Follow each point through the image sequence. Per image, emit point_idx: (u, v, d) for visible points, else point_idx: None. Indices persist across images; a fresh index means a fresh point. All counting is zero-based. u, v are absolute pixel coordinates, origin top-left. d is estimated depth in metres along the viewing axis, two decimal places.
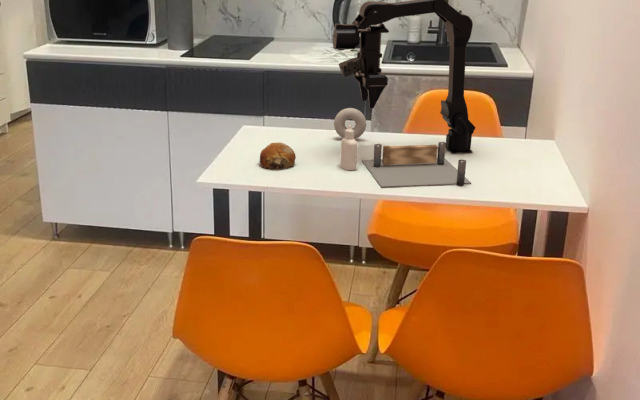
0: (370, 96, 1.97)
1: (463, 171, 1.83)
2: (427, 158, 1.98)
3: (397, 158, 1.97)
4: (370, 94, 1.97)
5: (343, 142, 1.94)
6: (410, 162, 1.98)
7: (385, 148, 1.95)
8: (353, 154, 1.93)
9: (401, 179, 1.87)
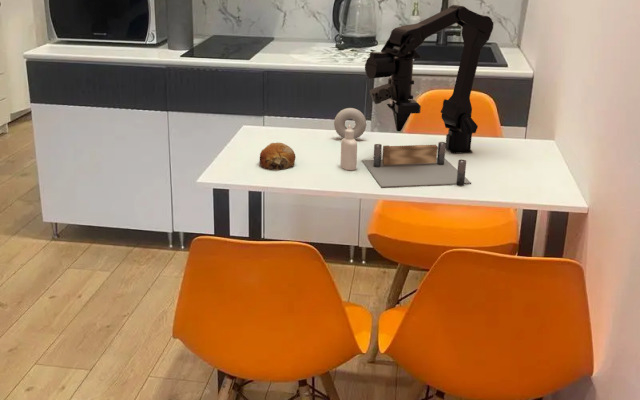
0: (398, 119, 1.98)
1: (463, 171, 1.83)
2: (427, 158, 1.98)
3: (397, 158, 1.97)
4: (398, 117, 1.98)
5: (343, 142, 1.94)
6: (410, 162, 1.98)
7: (385, 148, 1.95)
8: (353, 154, 1.93)
9: (401, 179, 1.87)
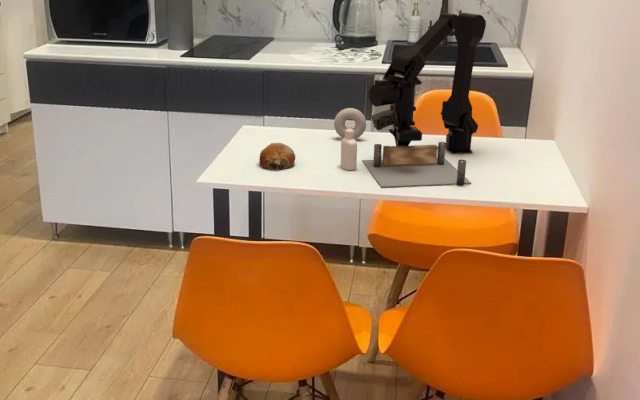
0: (399, 145, 1.98)
1: (463, 171, 1.83)
2: (427, 158, 1.98)
3: (397, 158, 1.96)
4: (399, 143, 1.97)
5: (343, 142, 1.94)
6: (410, 162, 1.98)
7: (386, 148, 1.94)
8: (353, 154, 1.93)
9: (401, 179, 1.87)
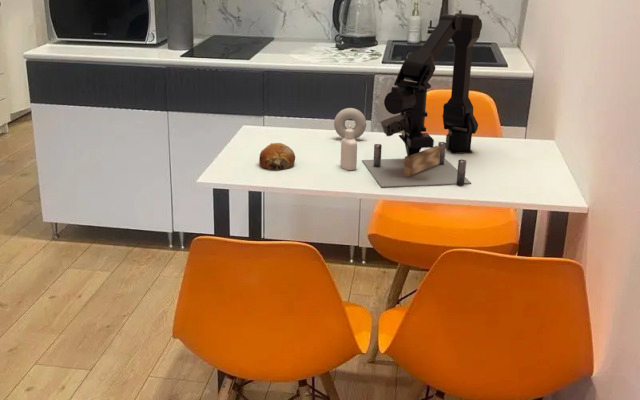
0: (409, 151, 1.92)
1: (463, 171, 1.83)
2: (434, 161, 1.96)
3: (416, 166, 1.90)
4: (410, 149, 1.92)
5: (343, 142, 1.94)
6: (424, 168, 1.93)
7: (410, 159, 1.86)
8: (353, 154, 1.93)
9: (401, 179, 1.87)
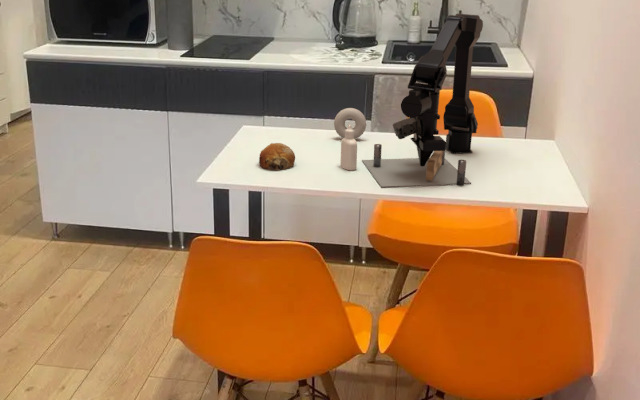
0: (421, 154, 1.90)
1: (463, 171, 1.83)
2: (440, 161, 1.95)
3: (434, 170, 1.88)
4: (421, 152, 1.90)
5: (343, 142, 1.94)
6: (436, 170, 1.92)
7: (433, 163, 1.84)
8: (353, 154, 1.93)
9: (401, 179, 1.87)
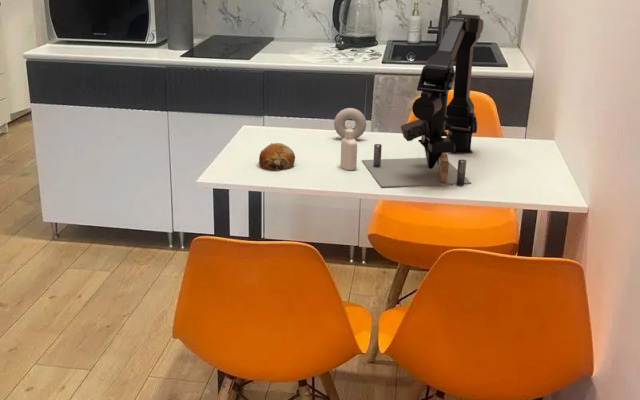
0: (430, 157, 1.88)
1: (463, 171, 1.83)
2: None
3: None
4: (430, 155, 1.88)
5: (343, 142, 1.94)
6: None
7: (448, 164, 1.83)
8: (353, 154, 1.93)
9: (401, 179, 1.87)
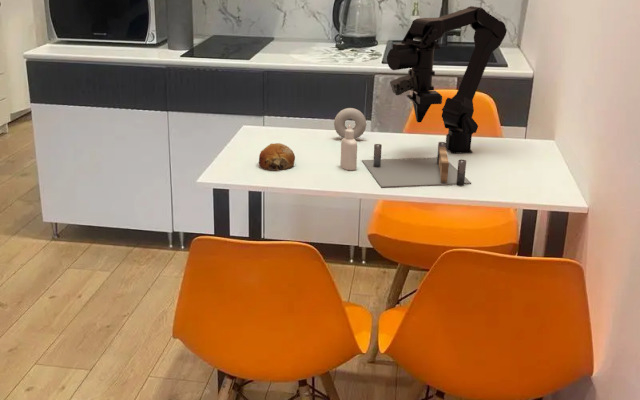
0: (418, 110, 1.99)
1: (463, 171, 1.83)
2: None
3: None
4: (418, 108, 1.98)
5: (343, 142, 1.94)
6: None
7: (448, 164, 1.83)
8: (353, 154, 1.93)
9: (401, 179, 1.87)
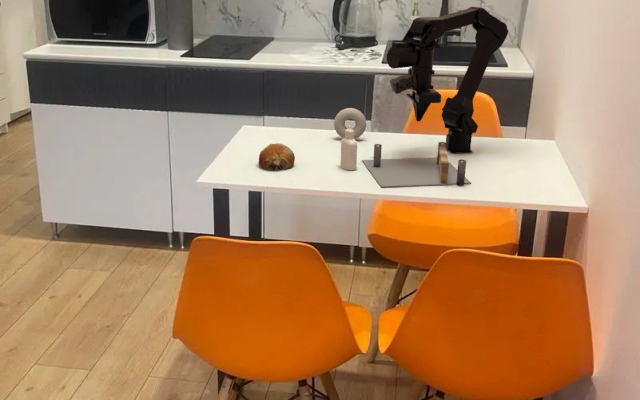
0: (417, 109, 1.99)
1: (463, 171, 1.83)
2: None
3: None
4: (418, 107, 1.99)
5: (343, 142, 1.94)
6: None
7: (448, 164, 1.83)
8: (353, 154, 1.93)
9: (401, 179, 1.87)
